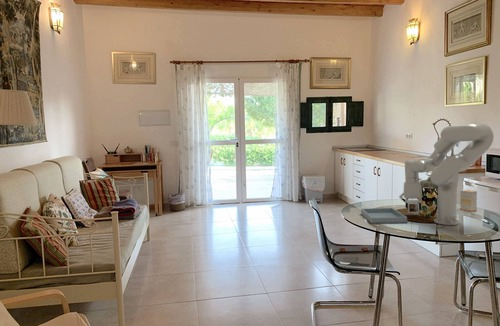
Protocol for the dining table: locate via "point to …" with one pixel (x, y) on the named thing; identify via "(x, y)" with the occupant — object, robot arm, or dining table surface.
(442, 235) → the dining table surface
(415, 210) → the silver metal block
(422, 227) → the dining table surface
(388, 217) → the tray
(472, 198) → the supplement box
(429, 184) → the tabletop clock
